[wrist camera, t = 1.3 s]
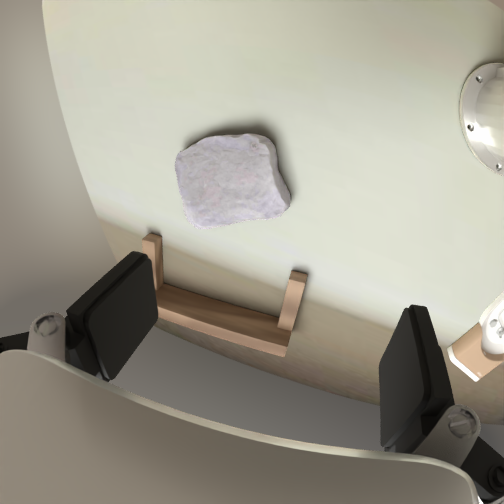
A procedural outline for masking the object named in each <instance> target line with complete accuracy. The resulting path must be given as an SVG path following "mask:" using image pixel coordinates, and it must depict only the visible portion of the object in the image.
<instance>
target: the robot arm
mask: <svg viewBox="0 0 504 504" xmlns="http://www.w3.org/2000/svg"><path fill="white" fill-rule="evenodd" d="M476 77H477V79H478V81H477V80H476ZM459 114H460V122H461V127H462V130H463V134H464V137H465V139H466V142H467V144H468V146H469V148H470V149H471V151H472V153H473V154H474V156H475V157H476V158H477V159H478V160H479V161H480V163H482V164H483V165H484V166H485V167H486V168H488V169H489V170H491V171H493V172H494V173H496V174H499V175H501V176H504V64H503V63H490V64H485V65H482V66H480V67H479V68H477V69H475V70H474V71H473V72H472V73H471V74H470V75H469V77H468V79H467V80H466V82H465V84H464V86H463V89H462V92H461V97H460V108H459ZM468 124H469V129H468V128H467V125H468ZM496 165H497V167H496ZM66 312H67V315H68V316H67V317H66V318H64V317H63V315H61V314H59V313H55V312H49V313H45V314H42V315H40V316H39V317H37V318H36V319H35V320H34V321H33V323H32V324H31V327H30V332H26V333H21V334H16V335H12V336H7V337H2V338H0V504H504V458H503V457H502V456H501V455H500V454H498V453H497V452H496V451H495V450H494V449H493V448H492V447H490V446H489V445H488V444H487V443H486V442H485V441H483V440H482V439H481V438H480V437H479V436H478V435H479V432H480V421H479V418H478V416H477V414H476V413H475V412H474V411H473V410H472V409H471V408H469V407H467V406H465V405H461V404H459V405H455V403H454V398H453V394H452V389H451V385H450V381H449V376H448V372H447V368H446V364H445V361H444V357H443V353H442V350H441V348H440V346H439V345H438V342H437V338H436V335H435V331H434V328H433V325H432V322H431V319H430V315H429V312H428V309H427V307H424V306H418V305H410V307H409V308H405V309H404V311H403V313H402V315H401V318H400V320H399V322H398V324H397V327H396V329H395V331H394V333H393V335H392V338H391V340H390V342H389V344H388V346H387V348H386V350H385V352H384V354H383V356H382V358H381V361H380V364H379V383H380V413H381V414H380V415H381V446H382V447H385V452H384V451H370V450H360V449H351V448H342V447H334V446H327V445H320V444H313V443H307V442H301V441H295V440H289V439H284V438H279V437H274V436H269V435H265V434H261V433H256V432H252V431H248V430H243V429H239V428H236V427H232V426H228V425H225V424H221V423H217V422H214V421H211V420H207V419H204V418H201V417H197V416H194V415H191V414H188V413H185V412H182V411H179V410H176V409H173V408H170V407H168V406H165V405H162V404H159V403H157V402H154V401H151V400H149V399H146V398H144V397H141V396H138V395H136V394H134V393H131V392H129V391H126V390H124V389H122V388H119V387H117V386H115V385H113V384H110V383H108V382H109V381H110V380H113V379H114V378H115V377H116V376H117V374H118V373H119V372H120V370H121V369H122V367H123V366H124V365H125V363H126V362H127V361H128V359H129V358H130V357H131V355H132V354H133V352H134V351H135V349H136V348H137V347H138V346H139V344H140V343H141V342H142V340H143V339H144V338H145V336H146V335H147V333H148V332H149V331H150V329H151V328H152V327H153V325H154V324H155V323H156V321H157V319H158V307H157V300H156V292H155V285H154V277H153V269H152V261H151V259H150V258H148V255H147V254H145V253H140V252H135V251H132V252H131V253H129V254H128V255H127V256H126V257H125V258H124V259H122V260H121V261H120V262H119V263H118V264H117V265H116V266H114V267H113V268H112V269H111V270H110V271H109V272H108V273H107V274H105V275H104V276H103V277H102V278H101V279H100V280H99V281H98V282H96V283H95V284H94V285H93V286H92V287H91V288H90V289H89V290H88V291H87V292H85V294H83V295H82V296H81V297H80V298H79V299H78V300H77V301H76V302H75V303H74V304H73V305H72V306H71V307H69V308H68V309H67V310H66Z"/></svg>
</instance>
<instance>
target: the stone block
mask: <svg viewBox="0 0 504 504" xmlns="http://www.w3.org/2000/svg"><path fill="white" fill-rule="evenodd" d="M175 171H176V174H177V180H178V186H179V192H180V194H181V197H182V200H183V208H184V213H185V216H186V218H187V220H188V221H189V222H190V223H191V224H193V225H194V227H196V228H198V229H210V228H215V227H221V226H226V225H230V224H234V223H238V222H242V221H247V220H256V219H266V220H267V219H273V218H276V217H278V216H280V215H282V214H283V212H284V211H286V210H287V209H288V208H289V207H290V197H291V196H290V193H289V191H288V189H287V187H286V184H285V182H284V180H283V178H282V176H281V174H280V173H279V170H278V157H277V154H276V148H275V146H274V144H273V143H272V142H271V141H270V140H269V139H268V138H267V137H265V136H261V135H258V134H251V133H247V134H242V135H223V136H211V137H206V138H204V139H202V140H200V141H199V142H197V143H196V144H193V145H191V146H190V147H189V148H187V149H185V150H183V151H180V153H179V154H178V155H177V157H176V161H175Z"/></svg>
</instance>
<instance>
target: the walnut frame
mask: <svg viewBox="0 0 504 504" xmlns="http://www.w3.org/2000/svg"><path fill="white" fill-rule="evenodd" d="M142 248H143V253H145V254H147V255H148V258H150V259H151V261H152V269H153V277H154V285H155V292H156V300H157V307H158V317H160V318H163V319H165V320H168V321H171V322H174V323H176V324H179V325H182V326H185V327H188V328H191V329H194V330H197V331H200V332H203V333H206V334H209V335H212V336H215V337H218V338H221V339H224V340H227V341H230V342H234V343H237V344H240V345H244V346H247V347H250V348H254V349H257V350H261V351H264V352H268V353H271V354H275V355H279V356H282V357H284V356H285V353H286V350H287V346H288V343H289V339H290V336H291V332H292V329H293V325H294V322H295V318H296V315H297V312H298V308H299V305H300V301H301V297H302V294H303V290H304V287H305V283H306V279H307V274H304V273H300V272H296V271H291V274H290V278H289V281H288V285H287V290H286V294H285V298H284V302H283V306H282V310H281V314H280V318H278V317H274V316H271V315H267V314H264V313H260V312H256V311H253V310H249V309H246V308H242V307H239V306H235V305H232V304H229V303H225V302H222V301H219V300H215V299H212V298H209V297H205V296H202V295H199V294H196V293H192V292H189V291H186V290H183V289H180V288H177V287H174V286H171V285H167V284H164V281H163V259H162V236H158V235H155V234H151V233H149V234H148V235H147V236H146V237H144V238H143V239H142Z"/></svg>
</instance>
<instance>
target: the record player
mask: <svg viewBox="0 0 504 504" xmlns="http://www.w3.org/2000/svg"><path fill="white" fill-rule="evenodd" d="M447 350H448V354H449V357H450V359H451V361H452V362H453V363H454V364H455V365H456V366H457V367H459V368H460V369H461V370H462V371H464V372H465V373H466V374H467V375H468V376H470V377H471V378H472V379H473V380H474V381H478V380H479V379H480V378H482V377H483V376H485V375H486V374H487V373H489V372H490V371H491V370H493V369H494V368H495V367H496V366H498V365H499V364H500V363H501V362H503V361H504V291H503V292H502V293H501V294H500V295H499V296H498V297H497V298H496V299H495V300H494V301H493V302H492V303H491V304H490V305H489V306H488V307H487V308H486V310H485V311H484V313H483V314H482V316H481V318H480V320H479V323H477V324H476V325H475V326H474V327H473V328H472V329H470V330H469V331H468V332H467V333H466V334H464V335H463V336H462V337H461V338H459V339H458V340H457V341H456V342H455V343H453V344H452V345H451V346H449V347H448V348H447Z"/></svg>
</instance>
